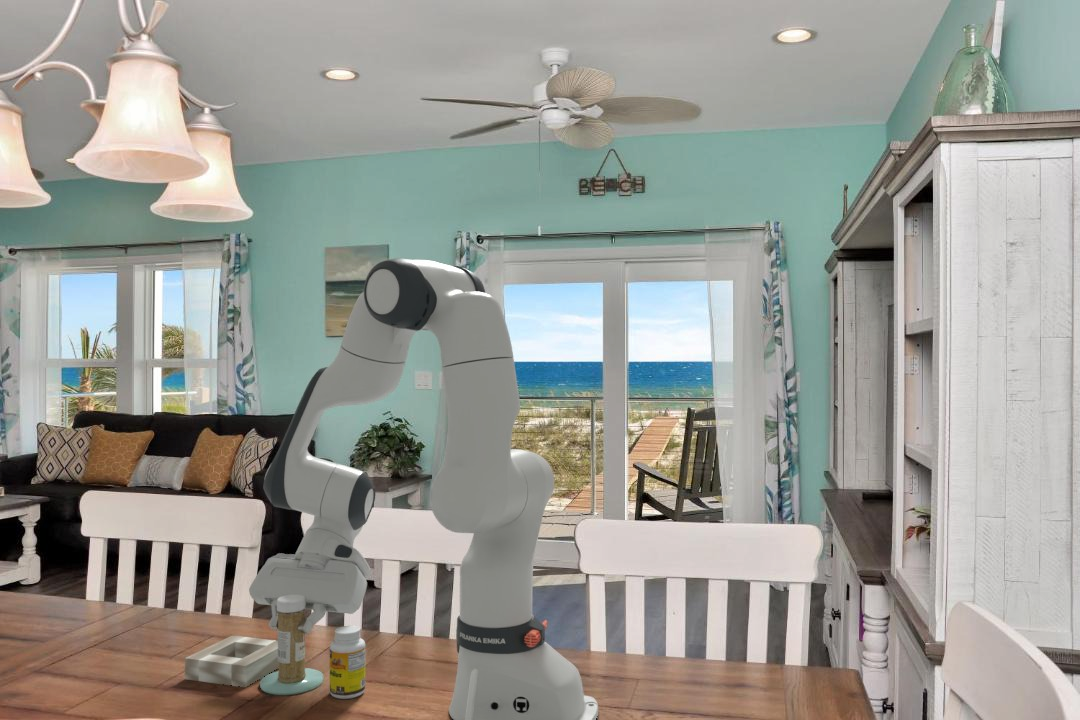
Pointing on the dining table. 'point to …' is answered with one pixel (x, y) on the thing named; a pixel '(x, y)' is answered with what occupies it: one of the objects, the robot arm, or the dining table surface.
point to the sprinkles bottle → (291, 638)
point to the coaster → (279, 688)
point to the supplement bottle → (347, 663)
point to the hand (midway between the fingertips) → (288, 630)
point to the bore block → (233, 661)
